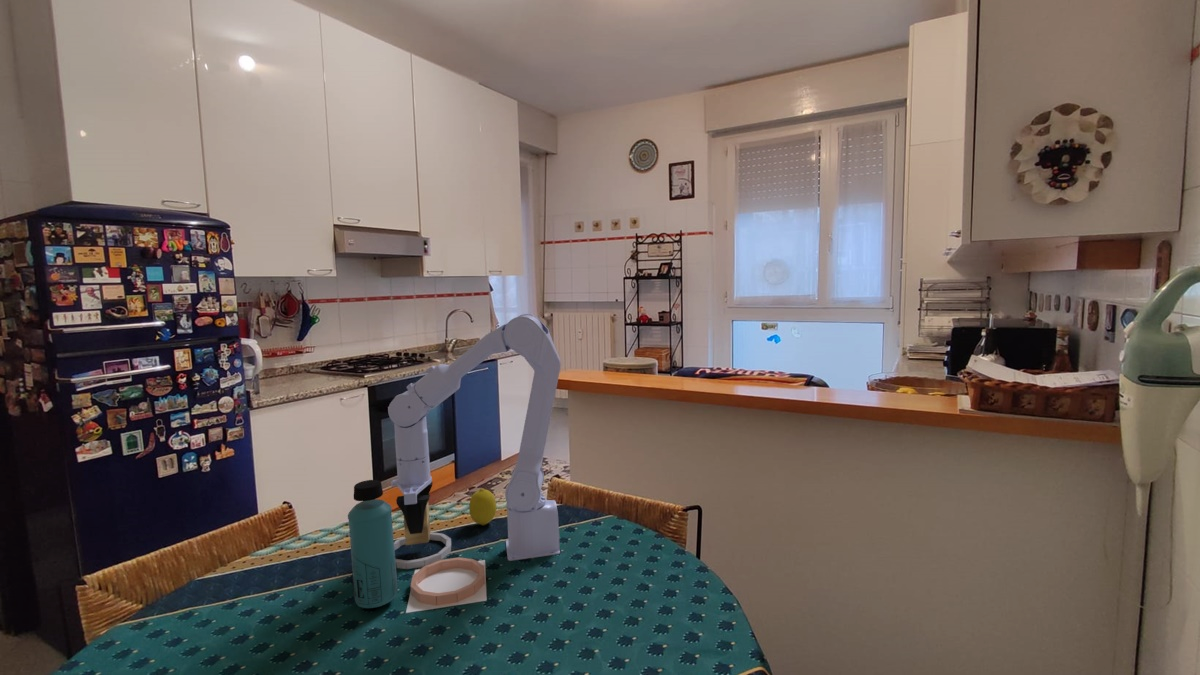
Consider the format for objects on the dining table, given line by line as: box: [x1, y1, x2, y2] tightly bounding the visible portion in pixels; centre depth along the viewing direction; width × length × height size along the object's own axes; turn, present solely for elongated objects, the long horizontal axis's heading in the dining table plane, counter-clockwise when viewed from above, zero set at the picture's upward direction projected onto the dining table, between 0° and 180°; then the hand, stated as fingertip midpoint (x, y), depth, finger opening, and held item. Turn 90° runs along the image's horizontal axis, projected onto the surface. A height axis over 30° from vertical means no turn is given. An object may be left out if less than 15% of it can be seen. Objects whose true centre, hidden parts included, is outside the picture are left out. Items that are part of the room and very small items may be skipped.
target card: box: [405, 559, 488, 614], centre depth 89 cm, size 12×13×1 cm
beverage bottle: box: [347, 479, 399, 609], centre depth 83 cm, size 6×7×20 cm
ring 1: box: [394, 531, 452, 570], centre depth 100 cm, size 12×12×2 cm
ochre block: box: [403, 502, 431, 546], centre depth 100 cm, size 4×4×7 cm
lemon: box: [468, 488, 497, 526], centre depth 112 cm, size 6×6×8 cm
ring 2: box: [410, 557, 485, 605], centre depth 89 cm, size 12×12×2 cm
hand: (417, 527), depth 100 cm, fingers closed on ochre block, 4 cm apart
